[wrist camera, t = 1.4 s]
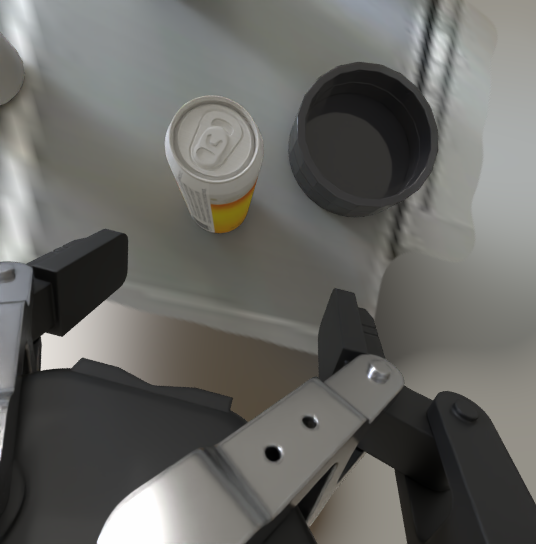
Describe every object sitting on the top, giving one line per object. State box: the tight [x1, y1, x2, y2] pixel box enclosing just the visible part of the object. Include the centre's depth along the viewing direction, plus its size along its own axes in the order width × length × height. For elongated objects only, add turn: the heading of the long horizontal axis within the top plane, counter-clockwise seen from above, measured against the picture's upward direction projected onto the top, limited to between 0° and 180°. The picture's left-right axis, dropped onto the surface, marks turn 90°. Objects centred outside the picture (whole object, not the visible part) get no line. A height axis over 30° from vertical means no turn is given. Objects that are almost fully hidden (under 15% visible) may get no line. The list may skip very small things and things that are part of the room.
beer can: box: [165, 96, 264, 233], centre depth 26 cm, size 6×6×15 cm
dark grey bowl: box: [288, 62, 438, 217], centre depth 34 cm, size 15×15×4 cm
